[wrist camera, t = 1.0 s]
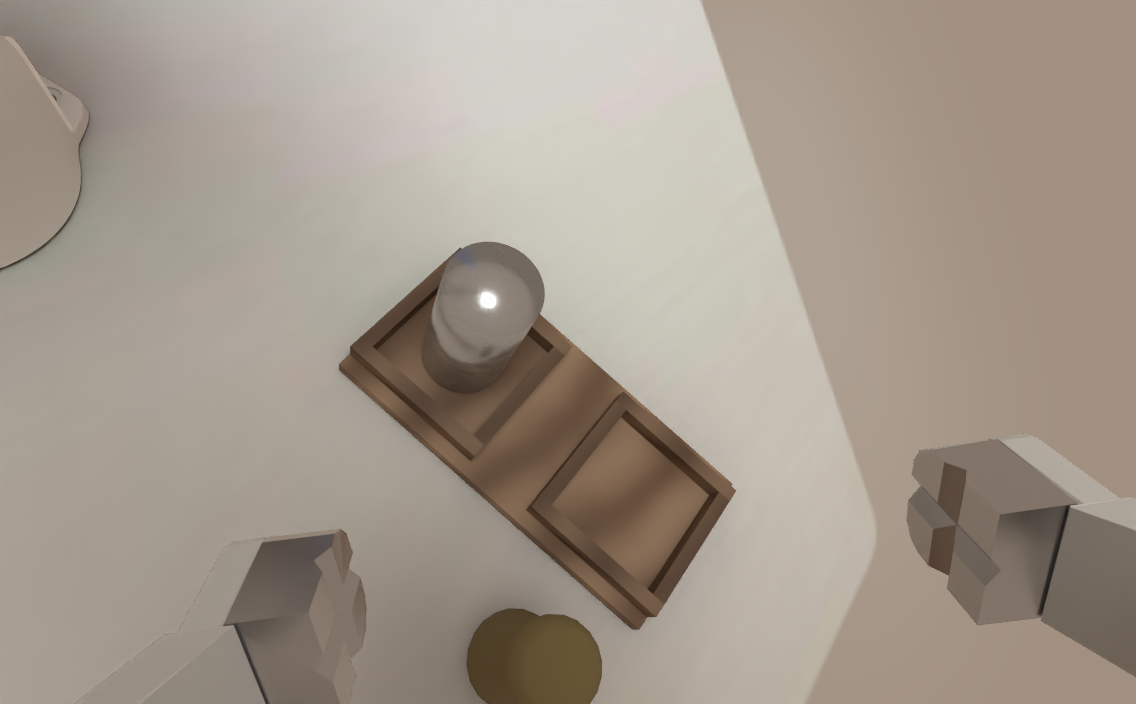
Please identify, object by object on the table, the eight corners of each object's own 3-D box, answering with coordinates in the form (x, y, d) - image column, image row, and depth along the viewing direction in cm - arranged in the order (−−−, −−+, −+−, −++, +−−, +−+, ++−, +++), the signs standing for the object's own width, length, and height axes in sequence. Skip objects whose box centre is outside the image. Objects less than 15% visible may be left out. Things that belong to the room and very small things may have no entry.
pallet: (339, 369, 47) (339, 356, 45) (463, 256, 53) (469, 239, 51) (632, 629, 47) (648, 629, 45) (724, 486, 53) (742, 480, 51)
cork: (553, 603, 46) (610, 598, 37) (562, 702, 44) (626, 725, 35) (463, 614, 44) (498, 612, 35) (469, 718, 42) (509, 747, 33)
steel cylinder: (403, 354, 48) (419, 286, 38) (460, 299, 51) (488, 223, 41) (467, 410, 48) (500, 357, 38) (521, 353, 51) (564, 289, 41)
